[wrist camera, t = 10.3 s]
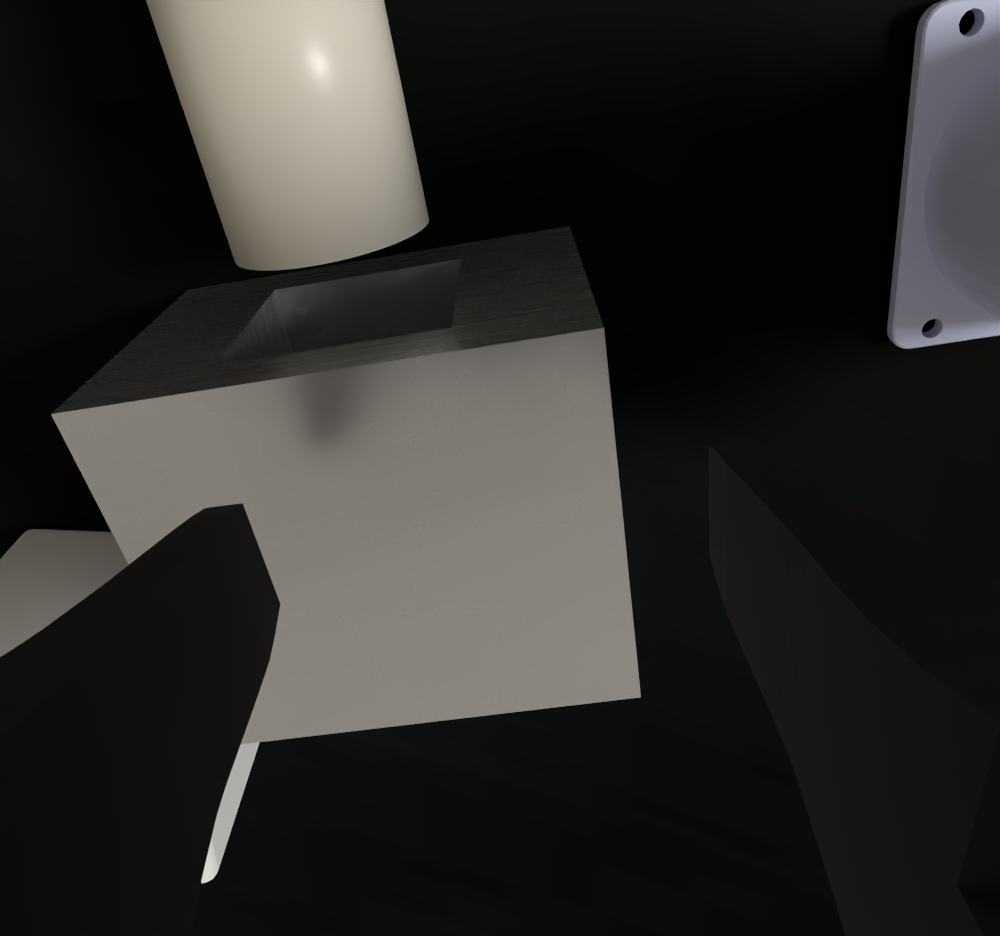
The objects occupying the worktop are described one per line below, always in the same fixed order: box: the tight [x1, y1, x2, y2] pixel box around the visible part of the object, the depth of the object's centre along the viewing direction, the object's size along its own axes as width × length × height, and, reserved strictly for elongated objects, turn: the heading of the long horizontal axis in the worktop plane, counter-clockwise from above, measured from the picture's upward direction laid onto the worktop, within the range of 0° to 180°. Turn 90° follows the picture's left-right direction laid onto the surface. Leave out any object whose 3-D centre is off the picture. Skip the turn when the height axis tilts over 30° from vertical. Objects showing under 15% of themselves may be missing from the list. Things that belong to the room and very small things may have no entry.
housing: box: [51, 226, 641, 744], centre depth 19 cm, size 10×9×7 cm
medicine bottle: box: [0, 529, 259, 883], centre depth 21 cm, size 7×7×12 cm
